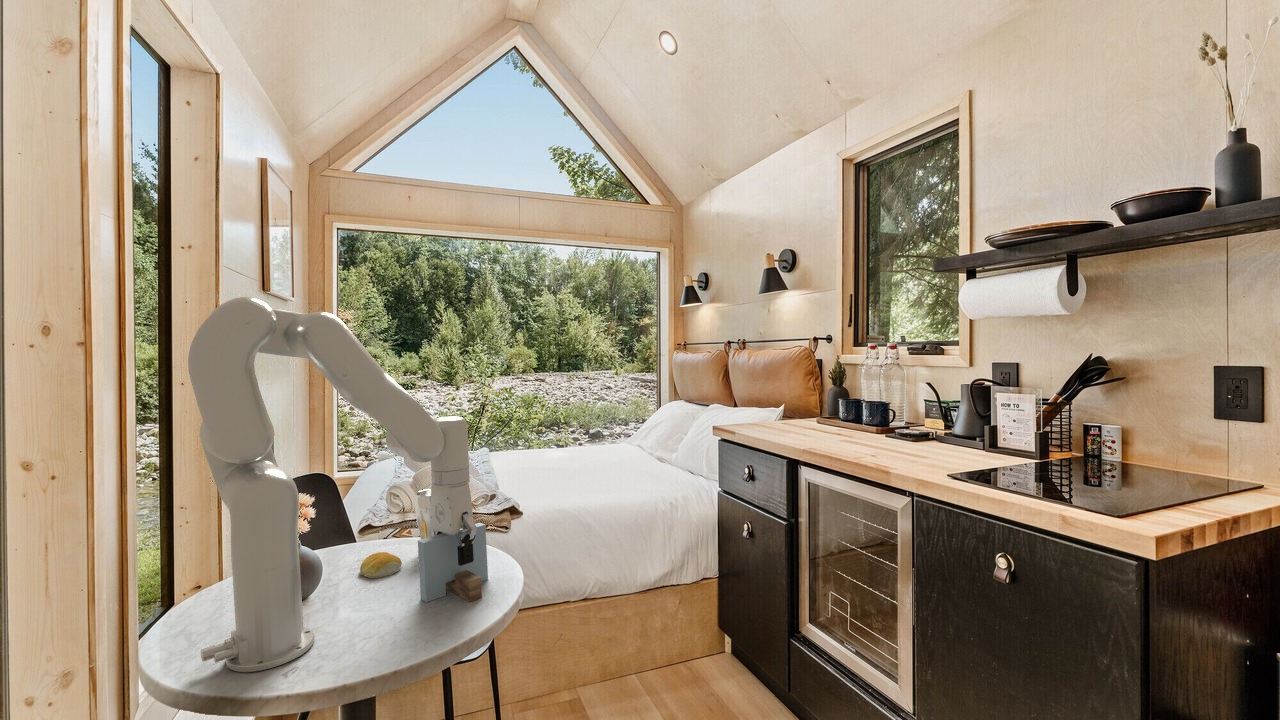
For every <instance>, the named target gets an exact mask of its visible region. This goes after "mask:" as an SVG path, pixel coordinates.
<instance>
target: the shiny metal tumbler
mask: <svg viewBox="0 0 1280 720" xmlns="http://www.w3.org/2000/svg"><path fill="white" fill-rule="evenodd" d="M430 497H431V488H427V489H423V490H419V491H416V492H415V505H414V511H415V517H416V518H415V519H416V524H417V529H418V532H419V537H420V540H421V539H425V538H428V537H431V536H435V535H434V528H432V526H431V523H430Z"/></svg>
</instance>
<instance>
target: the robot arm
mask: <svg viewBox="0 0 1280 720" xmlns="http://www.w3.org/2000/svg"><path fill="white" fill-rule="evenodd" d="M259 353H260V354H266V355H274V356H281V357H290V358H301V359H302V358H303V359H308V360H309V361H310V362H311V364H312V365H313V366H314V367H315V368H316V369H317V370H318V371H319V372H320V374H321V375H322V376H323V377H324V378H325V379H326V380H327V381H328V382H329V383H330V384H331V386H332V387H333V389H335V391H336V392H337V393H339V395H340V396H341V397H342V398H343V399H344V400H345V401H346V402H347V403H349V404H350V405H351V406H352V407H354V408H355V409H357V410H358V411H361V412H362V413H364V414H366V415H367V416H369V417H370V418H372V419H373V420H374V421H376V423H378V424H380V425H381V426H382V427H383V428H384V429H385V430H386V435H385V444H386V447H387V449H389V451H390V452H391V453H393V454H394V455H396V456H397V457H400V458H403V459H408V460H410V461H412V462H416V463H422V464H423V463H428V462H430V469H431V470H430V471H431V472H430V473H431V487H430V489H431V497H430V523H431V526H432V528H434V535H438V534H442V533H444V534H447V535H449V536H454V535H456V537H457V540H458V543H459V545H460V546H457V549H458V565H460V566H462V565H465V564H468V563H471V562H473V561H474V556H473V543H474V539H475V536H476V535H475V534H476V531H477V526H476V525H475V524H476V523H475V521H474V512H473V502H472V495H471V489H470V484H469V483H470V482H471V479H470V478H471V477H470V475H471V474H470V461H469V459H470V458H469V457H470V456H469V436H468V435H469V433H468V421H467V419H465V417H462V416H457V415H452V416H441V417H436V418H434V419H433V418H432V417H431V415H430V414H429V413H428V412H427V411H426V409H425V408H424V407H423V406H422V405H421V403H419V401H417V399H416V398H414V397H413V396H412V395H411V394H410V393H409V392H408V391H407V390H405V389H404V388H403V387H402V385H400V384H399V383H398V382H397V381H396V380H395V379H394V378H393V377H391V376H390V375H389V373H387V372H386V370H384V369H383V367H382V366H381V365H380V364H379V363H378V362H377V360H375V358H374V357H373V356H372V355H371V353H370V352H369V351H368V349H366V347H365V346H364V344H362V343H361V342H360V340H359V338H358V337H357V336H356V335H355V334H354V333H353V331H352V330H351V329H350V328H349V327H348V325H346V323H344V321H343V320H342V319H340V318H339V317H338V316H337V315H335V314H333V313H330V312H326V311H315V312H309V313H303V312H296V311H289V310H284V309H279V308H274V307H273V308H272V307H271V306H270V305H269V304H268V303H267V302H265V301H263V300H261V299H259V298H255V297H251V296H241V297H235V298H233V299H230V300H226V301H225V302H223V303H222V304H219V305H218V306H217V307H216V308H214V310H213V311H212V312H211V313H210V315H209V316H208V318H207V319H205V320H204V322H203V323H202V324H201V325H200V326H199V328H198V329H197V331H196V333H195V335H194V337H193V339H192V341H191V344H190V346H189V350H188V356H187V368H188V375H189V380H190V383H191V386H192V389H193V393H194V396H195V400H196V403H197V407H198V410H199V413H200V415H201V416H200V417H201V420H202V422H201V425H200V428H199V437H200V442H201V446H202V449H203V452H204V455H205V457H206V460H207V463H208V466H209V469H210V471H211V474H212V477H213V481H214V483H215V485H216V488H217V490H218V493H219V496H220V499H221V500H222V502H223V504H224V506H225V507H226V508H227V509H228V511H229V517H230V561H231V562H230V563H231V572H232V573H231V574H232V586H233V589H232V590H233V605H234V607H233V608H234V618H235V619H234V620H235V630H232V631H231V632H230V637H229V638H227V639H224V641H223V642H222V643H218V644H216V645H215V644H214V645H211V646H208V647H205V648H202V649H200V658H201V661H202V663H204V662H206V661H210V660H212V659H213V662H214V663H219V662H220V661H224V660H225V662H226V667H227V668H228V669H229V670H231V671H234V672H239V673H250V672H251V673H254V672H260V671H266V670H270V669H272V668H275V667H276V668H277V667H278V666H281V665H284V664H287V663H289V662H291V661H293V660H295V659H297V658H299V657H300V656H302V655H303V654H304V653H306V652H308V650H309V649H311V647H312V646H313V645H314V642H315V633H314V631H313V630H312V629H310V628H308V627H305V626H304V616H303V614H304V613H303V601H302V600H303V598H302V597H303V596H302V582H301V581H302V580H301V577H302V576H301V564H300V552H299V551H300V548H299V546H300V545H299V514H300V495H299V490H298V488H297V484H296V482H295V481H294V479H293V478H292V477H291V476H290V474H288V473H287V472H286V471H284V470H282V469H281V468H279V466H278V464H277V463H278V462H277V460H276V456H275V455H274V451H273V445H274V441H275V429H274V425H273V422H272V420H271V418H270V415H269V413H268V410H267V408H266V404H265V402H264V401H265V400H264V398H263V395H262V392H261V390H260V386H259V381H258V379H257V375H256V371H255V361H256V356H257V354H259ZM461 528H462V529H463V530H460V529H461ZM465 533H466V535H465V537H464V538H462V535H461V534H465Z"/></svg>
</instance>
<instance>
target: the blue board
mask: <svg viewBox="0 0 1280 720" xmlns="http://www.w3.org/2000/svg"><path fill="white" fill-rule="evenodd" d="M475 525H476V526H477V531H476V534H475V535H476V536H475V539H474V543H473V556H474V561H473V562H471V563H468V564H465V565H462V566H460V565H458V549H457V546H460V545H459V543H458V540H457V537H456V535H454V536H449V535H447V534H444V533H442V534H438V535H435V536H431V537H428V538H425V539H421V538H420V539H418V540H417V550H418V551H417V553H418V554H417V555H418V570H419V571H418V572H419V589H420V600H422V602H425V603H428V602H431V601H434V600H436V599H439V598H442V597H445V596H447V591H446V590H447V589H446V584H445V583H447V582H450V581H452V580H455V574H456V573H459V572H462V571H465V570H468V571H470V572H472V573H474V574H476V575H478V576H480V577H481V583H482V582H484V581H487V580H489V573H488V572H489V570H488V551H487V550H488V548H487V531H486V529H487V528H486V524H485V523H482V522H477V523H475ZM460 530H463V529H462V528H461V529H460ZM461 535H462V538H464V537H465V535H466V533H465V534H461Z"/></svg>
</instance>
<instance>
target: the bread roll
mask: <svg viewBox="0 0 1280 720" xmlns="http://www.w3.org/2000/svg"><path fill="white" fill-rule="evenodd" d="M402 564H403V562H402V559H401V558H400V557H399V556H397V555H395V554H392V553H389V552H385V551H379V552H376V553H372V554H370V555H368V556H367V557H366V558H365V559H363V560H362V562H361V564H360V567H359V572H360V575H362V576H363V577H367V578H368V579H378V578H384V577H388V576H391V575H394V574H395V573H397V572H399V570H400V569H401V567H402Z"/></svg>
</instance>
